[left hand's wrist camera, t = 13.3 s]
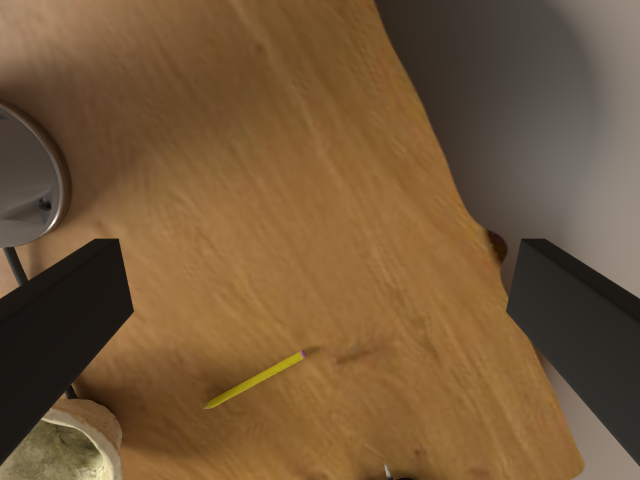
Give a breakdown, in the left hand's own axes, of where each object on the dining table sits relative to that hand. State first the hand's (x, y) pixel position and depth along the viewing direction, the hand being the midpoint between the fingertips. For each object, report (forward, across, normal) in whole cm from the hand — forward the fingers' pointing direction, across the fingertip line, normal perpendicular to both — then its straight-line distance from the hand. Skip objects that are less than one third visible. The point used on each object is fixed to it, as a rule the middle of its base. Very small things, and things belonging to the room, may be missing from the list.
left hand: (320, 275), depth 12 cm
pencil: (+28, +9, +29) cm, 41 cm away
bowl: (+28, +32, +36) cm, 55 cm away
